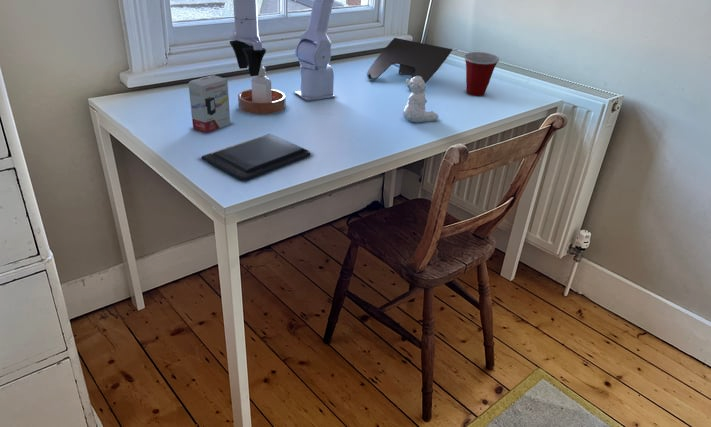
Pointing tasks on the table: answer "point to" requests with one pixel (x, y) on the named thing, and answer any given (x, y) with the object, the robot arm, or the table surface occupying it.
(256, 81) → the eye dropper bottle
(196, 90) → the ink box
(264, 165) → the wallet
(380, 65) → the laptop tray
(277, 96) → the bowl
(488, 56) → the plastic cup
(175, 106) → the table surface
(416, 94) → the white creature statuette
